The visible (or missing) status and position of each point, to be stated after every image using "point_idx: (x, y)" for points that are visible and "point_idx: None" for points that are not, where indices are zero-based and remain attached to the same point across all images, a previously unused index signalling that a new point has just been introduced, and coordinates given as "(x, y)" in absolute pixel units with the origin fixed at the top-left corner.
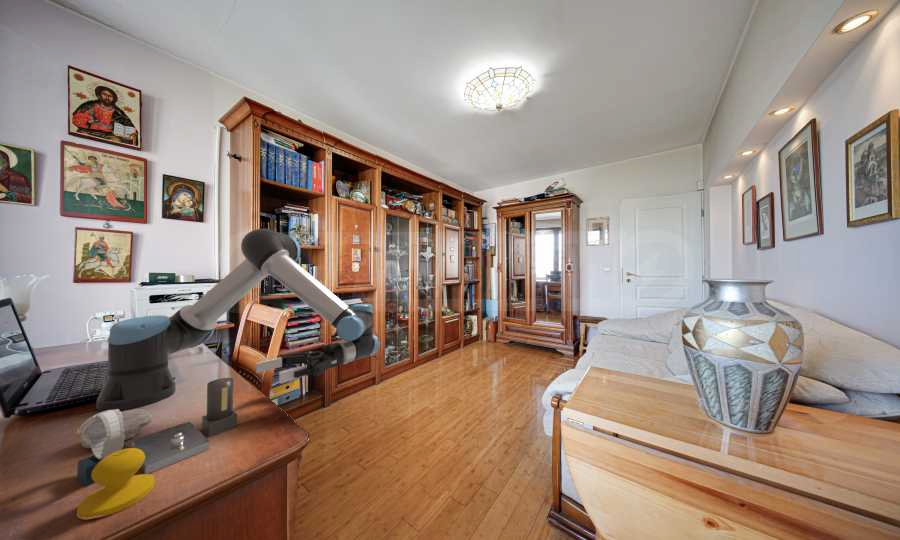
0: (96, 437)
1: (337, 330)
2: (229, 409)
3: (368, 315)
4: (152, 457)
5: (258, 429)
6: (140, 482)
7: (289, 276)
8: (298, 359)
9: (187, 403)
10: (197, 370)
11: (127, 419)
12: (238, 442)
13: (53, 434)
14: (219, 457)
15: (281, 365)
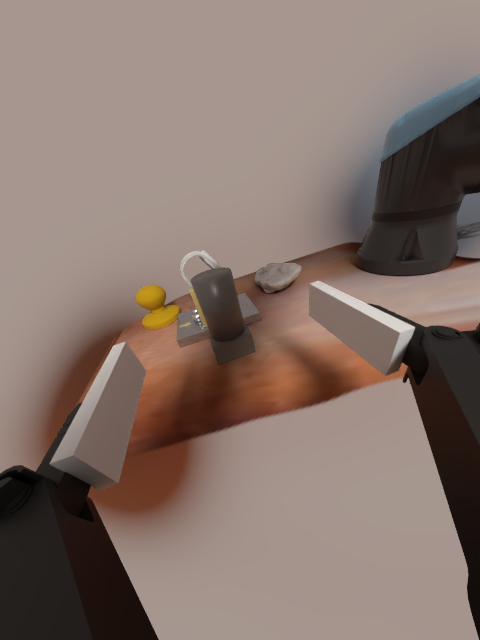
0: None
1: None
2: (211, 331)
3: None
4: (191, 312)
5: (177, 394)
6: (152, 318)
7: None
8: (467, 476)
9: (363, 297)
10: None
11: (281, 273)
12: (163, 372)
13: (311, 261)
14: (148, 359)
15: (386, 369)
